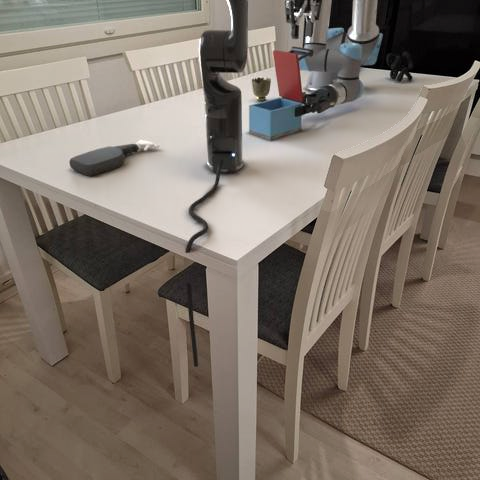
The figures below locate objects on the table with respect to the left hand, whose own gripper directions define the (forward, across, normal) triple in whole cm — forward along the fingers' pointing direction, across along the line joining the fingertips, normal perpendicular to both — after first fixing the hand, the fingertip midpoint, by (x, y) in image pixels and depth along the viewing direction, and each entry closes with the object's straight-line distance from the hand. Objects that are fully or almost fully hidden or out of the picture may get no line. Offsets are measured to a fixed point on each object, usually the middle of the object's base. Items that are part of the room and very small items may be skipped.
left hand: (301, 37), depth 134 cm
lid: (+11, +6, 0) cm, 12 cm away
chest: (+27, +10, 0) cm, 29 cm away
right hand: (+20, +7, 0) cm, 21 cm away
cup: (+27, -12, -31) cm, 42 cm away
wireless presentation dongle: (+27, +59, -13) cm, 66 cm away
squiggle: (+26, -80, -12) cm, 86 cm away
